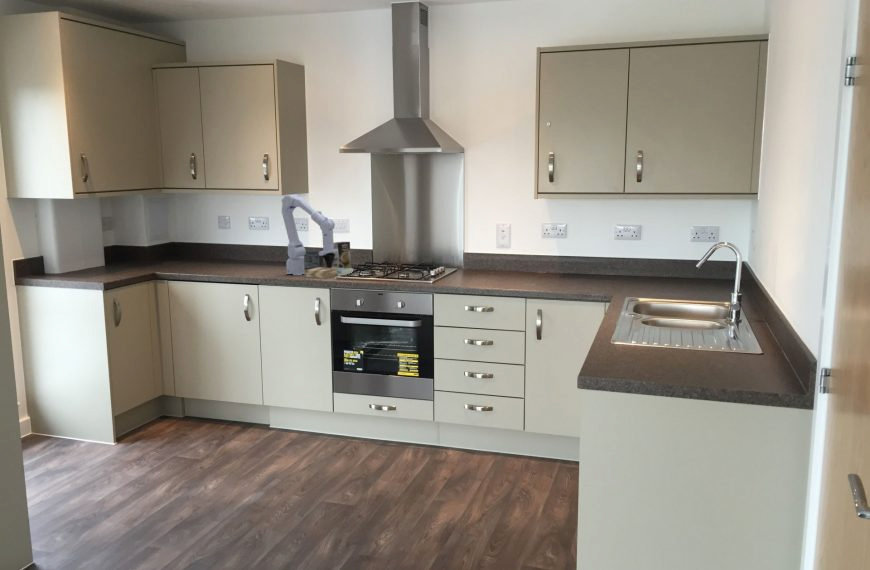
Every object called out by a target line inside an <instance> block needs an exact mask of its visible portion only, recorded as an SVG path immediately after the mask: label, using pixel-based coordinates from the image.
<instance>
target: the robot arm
mask: <svg viewBox="0 0 870 570" xmlns="http://www.w3.org/2000/svg"><path fill="white" fill-rule="evenodd" d="M281 203H282V205H281V214H282V219H283V222H284V225H285V226H284V227H285V230H286V234H287V237H288V244H287V255H288V259H287V260H286V263H285V264H286V274H293V275H292V276H303V275H302V274H304V275H306V271H305V269H304V255H305V254H306V251H307V250H306V248H305V246H304V244H303V242H302V241H301V240H300V239H299V238H300V237H299V234H298V229H297V226H296V222H295V219H294V213H293V212H294V210H295V209H296V208H300V209H302V210H303V211H305V212H306V213H307V214H308V215H310V218H311V220H312V221H313V222H315V224H316V225H318V226H319V228H320V230H321V235H322V249H323V250H320V251H321V252H319V255H320V256H323V260H324V262H325V265H326V268H333V266H332V263H333V259H334V257H335V254H333V253H338V249H334V243H335V242H334V229H335V222H334V221H333V219H329V218H328V217H326V216H325V215H324V214H323V213H322V211H321V210H315V209H313V207H312V206H311V205H310V204H308V202H307V201H306V200H304V198H303V197H302V196H301V195H299V194H298V193H294V194H286V195H284V196H283V198H282V199H281Z"/></svg>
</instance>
